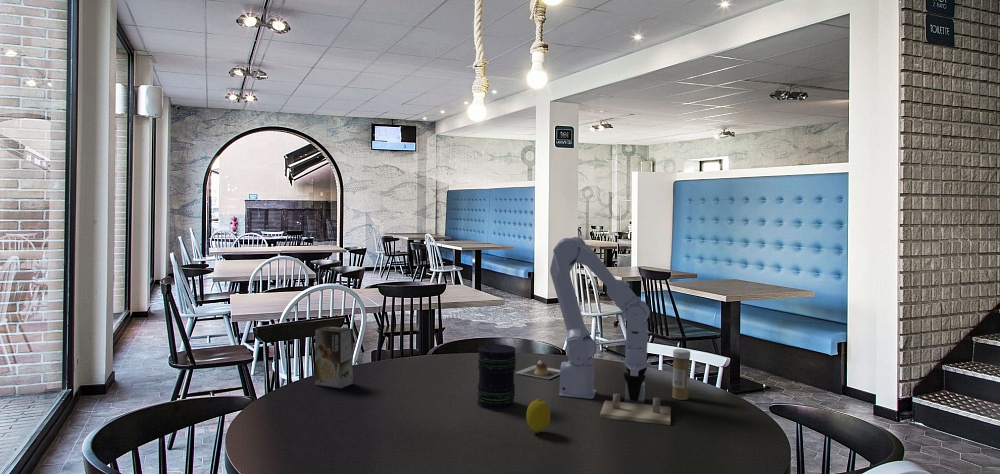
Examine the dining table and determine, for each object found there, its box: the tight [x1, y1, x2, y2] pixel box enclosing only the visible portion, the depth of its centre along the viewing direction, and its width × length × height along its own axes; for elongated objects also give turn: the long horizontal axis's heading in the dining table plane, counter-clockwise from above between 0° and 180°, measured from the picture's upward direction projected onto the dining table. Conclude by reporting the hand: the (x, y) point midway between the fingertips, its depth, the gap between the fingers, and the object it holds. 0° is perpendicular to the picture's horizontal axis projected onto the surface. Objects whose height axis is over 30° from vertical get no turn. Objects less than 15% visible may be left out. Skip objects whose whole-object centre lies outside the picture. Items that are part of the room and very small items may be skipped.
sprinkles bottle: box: [671, 348, 691, 401], centre depth 182 cm, size 5×5×13 cm
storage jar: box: [477, 343, 517, 411], centre depth 172 cm, size 10×10×15 cm
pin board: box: [599, 393, 672, 426], centre depth 167 cm, size 17×12×4 cm
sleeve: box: [624, 381, 646, 404], centre depth 178 cm, size 5×5×5 cm
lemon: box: [525, 398, 551, 434], centre depth 151 cm, size 6×6×8 cm
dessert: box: [515, 359, 560, 380], centre depth 206 cm, size 12×12×5 cm
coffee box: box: [314, 325, 354, 389], centre depth 187 cm, size 9×6×16 cm
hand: (634, 396), depth 178 cm, fingers open, 7 cm apart
